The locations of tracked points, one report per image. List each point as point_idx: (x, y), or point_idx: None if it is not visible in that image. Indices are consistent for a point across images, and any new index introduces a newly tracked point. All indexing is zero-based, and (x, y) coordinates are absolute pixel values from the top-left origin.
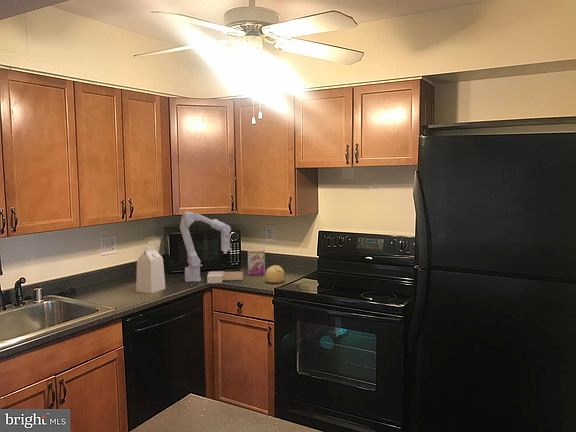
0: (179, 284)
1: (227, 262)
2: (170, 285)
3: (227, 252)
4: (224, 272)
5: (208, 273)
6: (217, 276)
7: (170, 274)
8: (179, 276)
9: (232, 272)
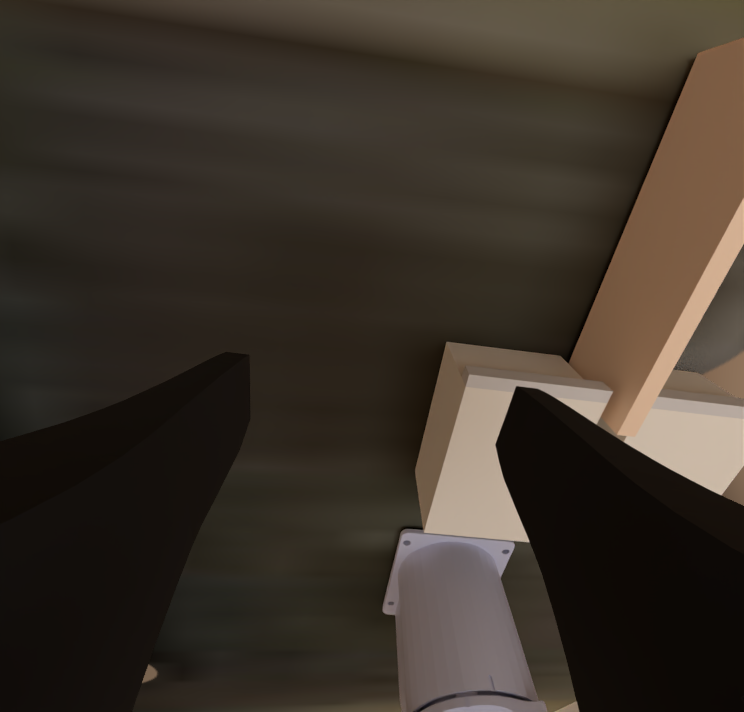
0: (539, 636)
1: (561, 404)
2: (541, 669)
3: (75, 607)
4: (659, 388)
5: (525, 540)
6: (737, 465)
7: (187, 673)
8: (266, 637)
9: (729, 260)
